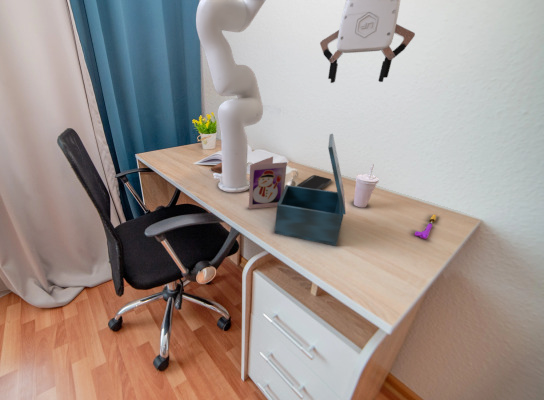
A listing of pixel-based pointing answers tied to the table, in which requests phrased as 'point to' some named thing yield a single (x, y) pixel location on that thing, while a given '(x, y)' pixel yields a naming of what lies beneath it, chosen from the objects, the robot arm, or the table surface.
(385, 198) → the table surface
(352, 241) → the table surface
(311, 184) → the phone
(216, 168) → the sunglasses case
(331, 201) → the keepsake box
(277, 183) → the greeting card
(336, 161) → the lid
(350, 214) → the table surface
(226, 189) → the robot arm
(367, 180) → the smoothie
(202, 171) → the table surface
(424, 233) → the purple bent handle tool
